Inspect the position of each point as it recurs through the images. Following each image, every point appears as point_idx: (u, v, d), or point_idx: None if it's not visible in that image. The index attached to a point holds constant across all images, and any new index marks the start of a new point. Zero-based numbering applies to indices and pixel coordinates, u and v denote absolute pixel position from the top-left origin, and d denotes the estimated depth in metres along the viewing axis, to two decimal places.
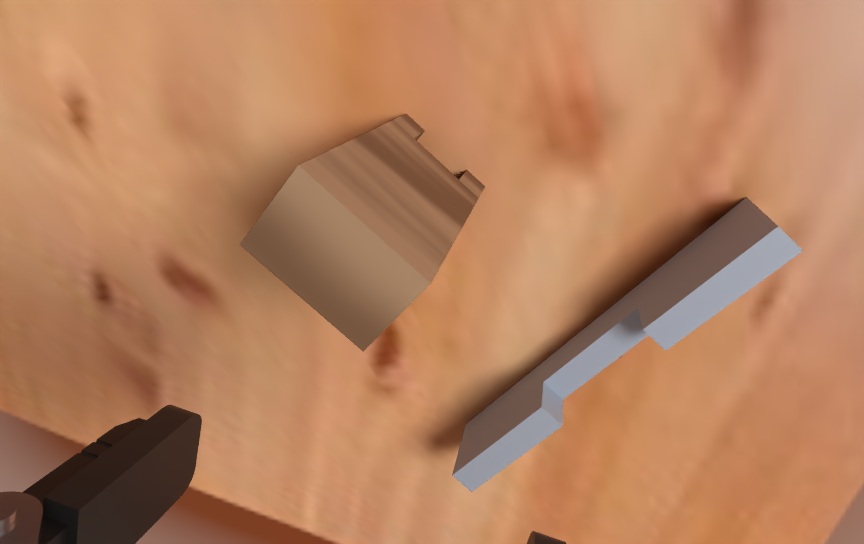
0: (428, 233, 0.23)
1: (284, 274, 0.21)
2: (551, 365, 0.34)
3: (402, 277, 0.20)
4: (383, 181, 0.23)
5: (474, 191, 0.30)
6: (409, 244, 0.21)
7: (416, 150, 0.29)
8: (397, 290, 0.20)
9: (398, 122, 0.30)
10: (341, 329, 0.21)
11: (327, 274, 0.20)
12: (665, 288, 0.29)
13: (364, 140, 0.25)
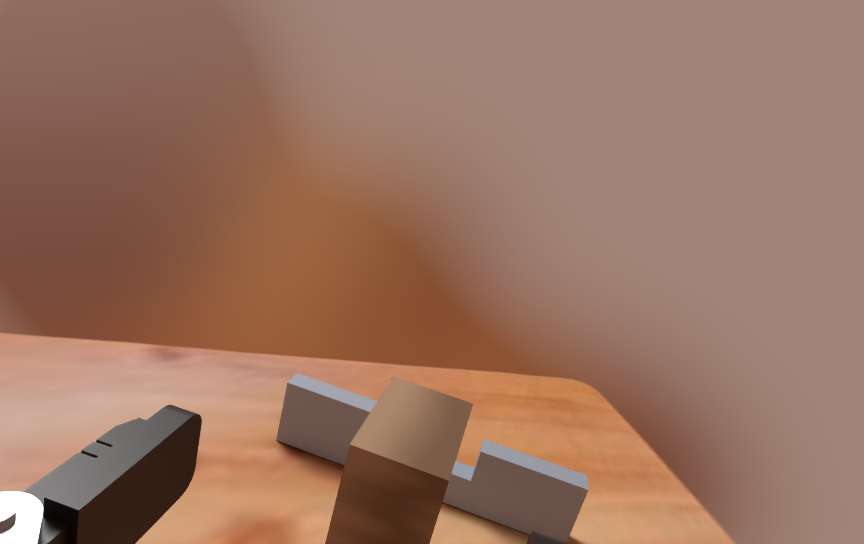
0: None
1: (451, 449, 0.23)
2: (458, 492, 0.40)
3: (400, 388, 0.27)
4: None
5: None
6: None
7: None
8: (410, 390, 0.27)
9: None
10: (467, 415, 0.26)
11: (428, 423, 0.24)
12: None
13: None
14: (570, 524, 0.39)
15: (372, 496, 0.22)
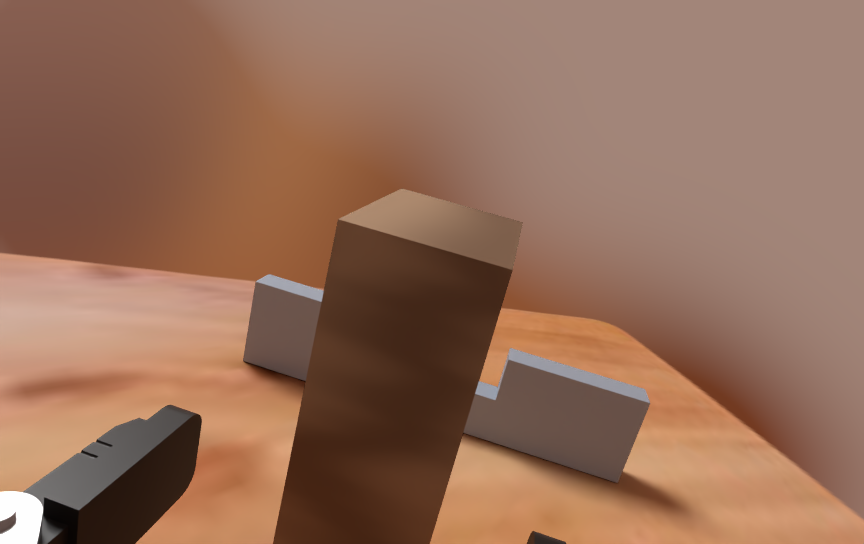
0: None
1: (505, 247, 0.14)
2: (479, 417, 0.31)
3: (413, 196, 0.18)
4: None
5: None
6: None
7: None
8: (429, 200, 0.18)
9: None
10: (517, 228, 0.17)
11: (463, 224, 0.15)
12: None
13: None
14: (625, 451, 0.30)
15: (377, 314, 0.13)
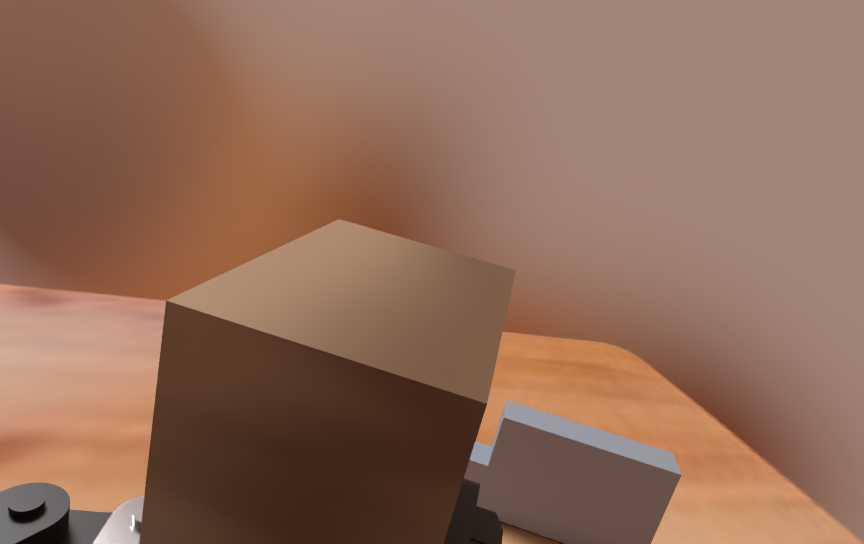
0: None
1: (481, 335, 0.08)
2: None
3: (351, 233, 0.12)
4: None
5: None
6: None
7: None
8: (376, 238, 0.12)
9: None
10: (507, 284, 0.11)
11: (417, 286, 0.10)
12: None
13: None
14: (649, 532, 0.24)
15: (248, 468, 0.07)
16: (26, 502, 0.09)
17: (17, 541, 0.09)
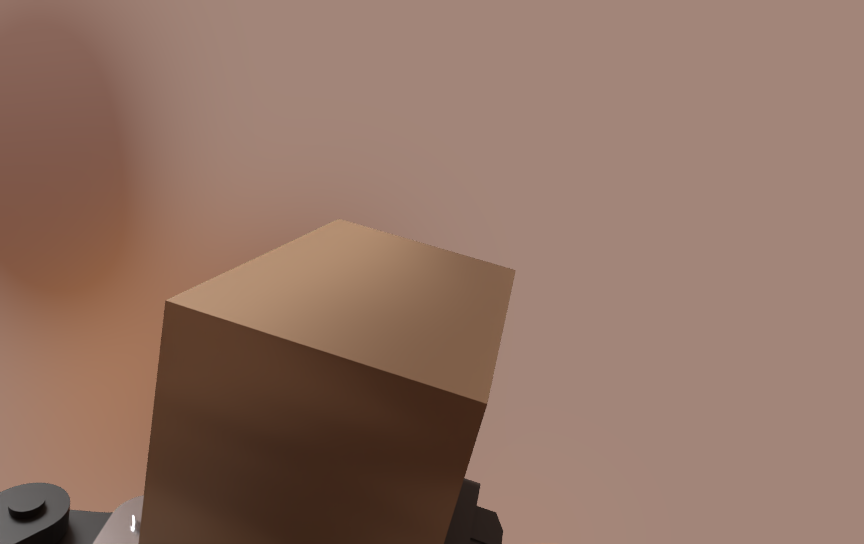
0: None
1: (481, 334, 0.08)
2: None
3: (350, 233, 0.12)
4: None
5: None
6: None
7: None
8: (376, 238, 0.12)
9: None
10: (507, 284, 0.11)
11: (416, 287, 0.10)
12: None
13: None
14: None
15: (246, 468, 0.07)
16: (27, 503, 0.09)
17: (17, 541, 0.09)
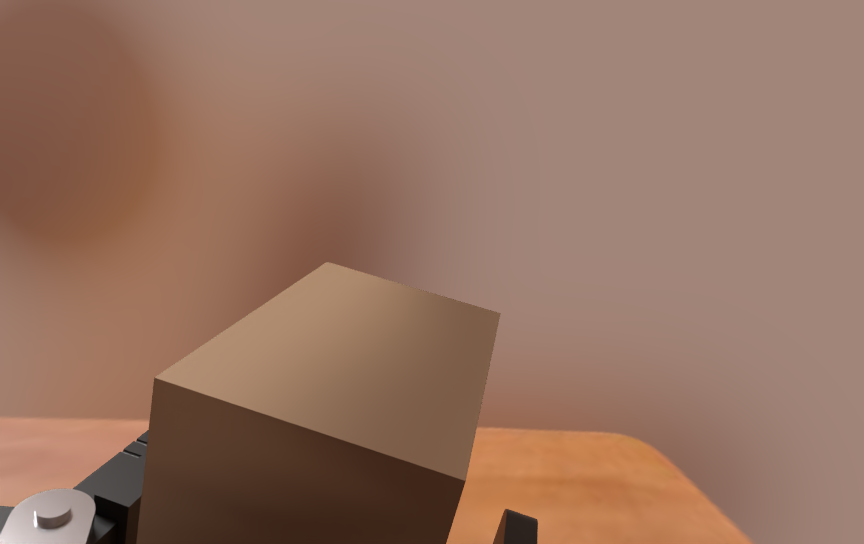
0: None
1: (462, 397, 0.08)
2: None
3: (338, 279, 0.12)
4: None
5: None
6: None
7: None
8: (363, 283, 0.12)
9: None
10: (491, 331, 0.11)
11: (402, 342, 0.10)
12: None
13: None
14: None
15: (235, 535, 0.07)
16: None
17: None
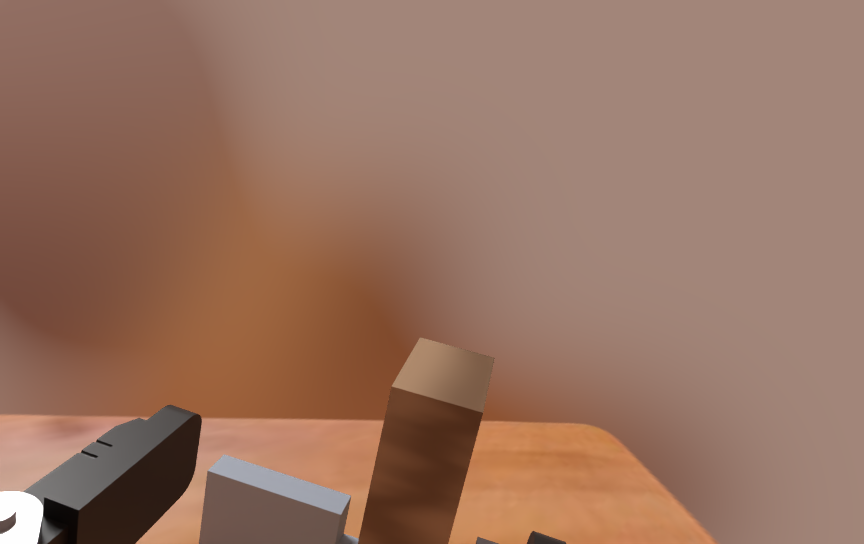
0: None
1: (480, 390, 0.26)
2: None
3: (427, 346, 0.29)
4: None
5: None
6: None
7: None
8: (437, 347, 0.29)
9: None
10: (490, 366, 0.28)
11: (458, 372, 0.27)
12: (302, 538, 0.30)
13: None
14: None
15: (413, 434, 0.25)
16: None
17: None
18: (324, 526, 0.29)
